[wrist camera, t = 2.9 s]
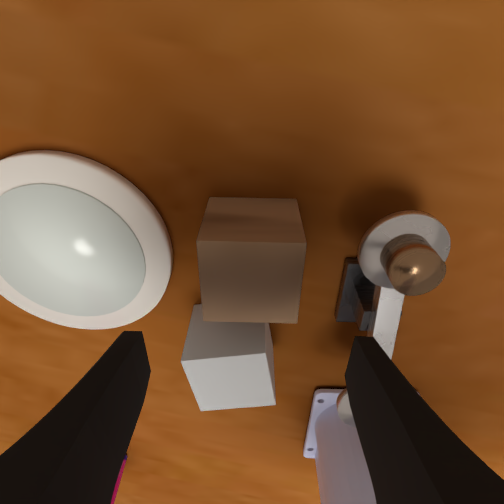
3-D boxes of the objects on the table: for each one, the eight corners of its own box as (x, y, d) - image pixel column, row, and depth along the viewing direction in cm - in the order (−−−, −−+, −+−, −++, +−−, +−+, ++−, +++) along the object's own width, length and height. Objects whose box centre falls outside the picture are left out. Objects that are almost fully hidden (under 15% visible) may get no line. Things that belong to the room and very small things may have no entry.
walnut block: (289, 268, 20) (296, 323, 16) (213, 267, 20) (203, 321, 16) (296, 198, 17) (306, 243, 14) (209, 196, 17) (196, 240, 14)
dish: (181, 320, 22) (178, 333, 21) (14, 316, 22) (3, 329, 21) (160, 152, 16) (153, 160, 15) (-68, 147, 16) (-90, 154, 15)
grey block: (272, 345, 23) (275, 405, 20) (209, 351, 24) (200, 411, 20) (264, 296, 21) (265, 353, 17) (194, 303, 21) (180, 361, 18)
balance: (375, 360, 24) (401, 430, 20) (319, 359, 24) (332, 428, 20) (432, 188, 17) (489, 238, 13) (352, 186, 17) (383, 236, 13)
